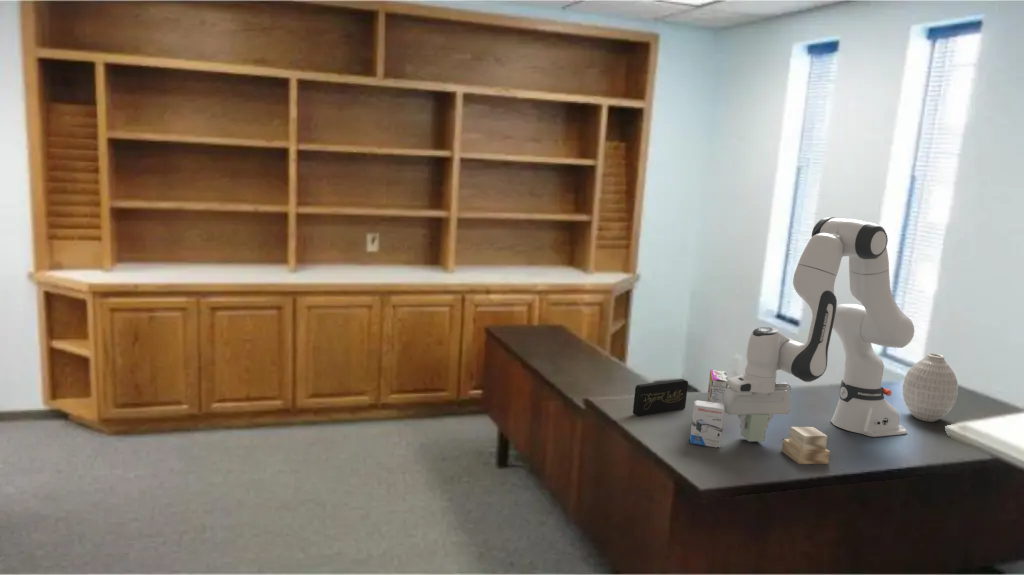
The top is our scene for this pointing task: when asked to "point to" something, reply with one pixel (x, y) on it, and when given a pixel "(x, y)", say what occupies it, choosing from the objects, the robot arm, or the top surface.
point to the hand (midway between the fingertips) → (753, 427)
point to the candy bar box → (717, 386)
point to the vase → (930, 388)
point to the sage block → (755, 427)
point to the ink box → (707, 423)
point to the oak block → (805, 454)
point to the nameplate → (660, 397)
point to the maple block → (808, 438)
